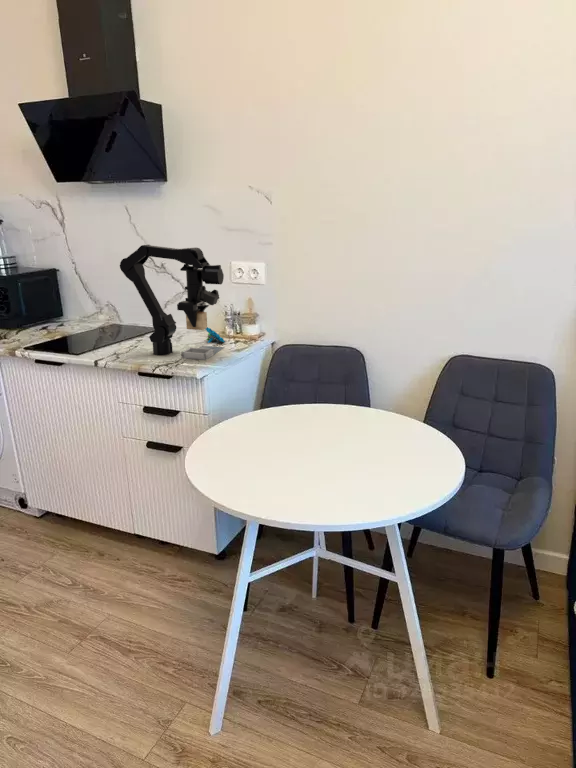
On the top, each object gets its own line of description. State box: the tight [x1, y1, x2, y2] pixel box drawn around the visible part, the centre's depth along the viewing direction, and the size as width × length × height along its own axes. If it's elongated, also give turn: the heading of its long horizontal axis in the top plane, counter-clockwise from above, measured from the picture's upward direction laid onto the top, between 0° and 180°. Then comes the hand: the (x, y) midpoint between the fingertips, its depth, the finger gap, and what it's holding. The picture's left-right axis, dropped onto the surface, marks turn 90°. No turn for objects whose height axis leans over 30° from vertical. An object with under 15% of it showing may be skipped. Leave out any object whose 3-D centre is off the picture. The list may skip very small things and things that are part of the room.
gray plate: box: [180, 345, 226, 361], centre depth 212 cm, size 20×10×3 cm, turn 164°
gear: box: [204, 326, 226, 344], centre depth 229 cm, size 11×6×10 cm
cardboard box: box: [185, 311, 208, 331], centre depth 203 cm, size 6×4×6 cm, turn 74°
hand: (196, 325), depth 204 cm, fingers closed on cardboard box, 4 cm apart
